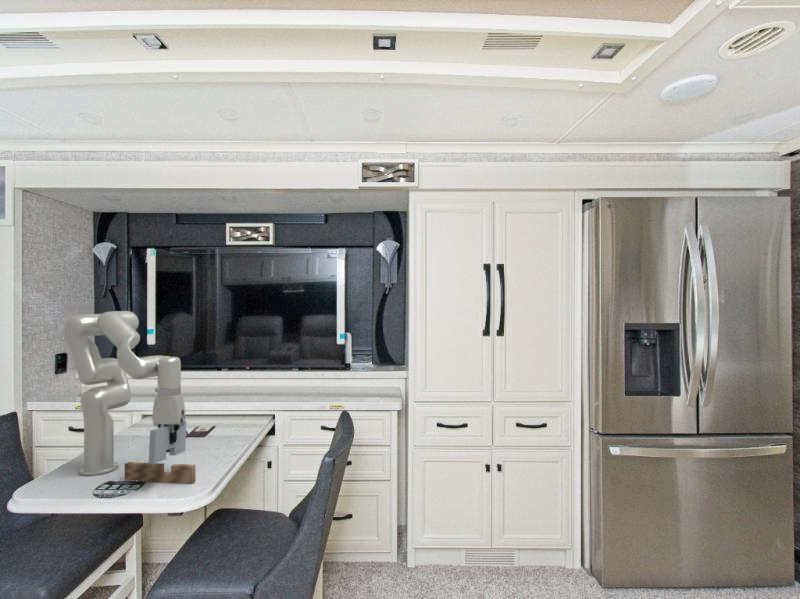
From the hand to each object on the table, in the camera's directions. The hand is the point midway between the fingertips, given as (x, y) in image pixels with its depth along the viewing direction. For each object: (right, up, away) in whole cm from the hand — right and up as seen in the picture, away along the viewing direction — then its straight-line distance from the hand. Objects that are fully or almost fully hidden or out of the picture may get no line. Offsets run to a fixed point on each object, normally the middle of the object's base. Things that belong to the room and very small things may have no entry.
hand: (169, 442), depth 167 cm
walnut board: (-3, -14, -1) cm, 14 cm away
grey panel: (0, -5, -1) cm, 5 cm away
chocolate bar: (-15, -15, +62) cm, 65 cm away
